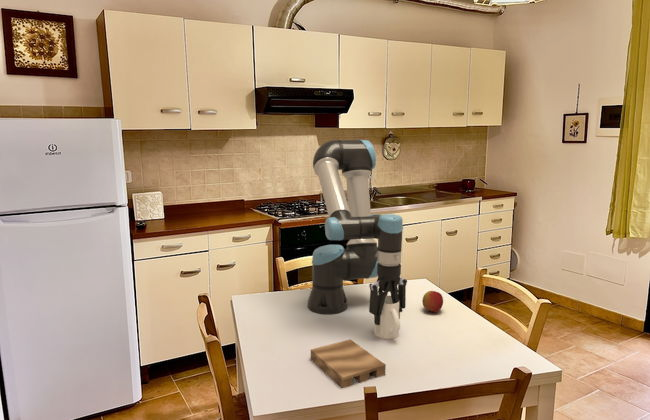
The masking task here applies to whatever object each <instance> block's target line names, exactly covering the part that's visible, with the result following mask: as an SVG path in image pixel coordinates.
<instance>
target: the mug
mask: <svg viewBox="0 0 650 420" xmlns="http://www.w3.org/2000/svg"><path fill="white" fill-rule="evenodd" d="M399 301H400V300H399ZM381 315H383V332H382V335H379V334H378V333H376V324H375V323H374V335H375V337H377V338H379V339H384V340H392V339H395V338H396V339H397V337H399V332H400V329H401V328H400V327H401V321H400V320H401V319H399V302H397V303H395V304H393V302H392V298H391V295H387V296H386V298H385V301H384V305H383V309H382V313H381Z"/></svg>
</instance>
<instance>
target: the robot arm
mask: <svg viewBox="0 0 650 420" xmlns="http://www.w3.org/2000/svg"><path fill="white" fill-rule="evenodd" d="M376 161H377V154H376V150H375V147H374V145H373V144H372V142H371V141H370V140H366V139H365V140H364V139H330V140H328V141H325V142H324V143H322V144H320V146H319V147H318V148H317V149H316V151H315V153H314V155H313V159H312V167H313V172H314V174H315V175H316V176H317V177H318V180H319V185H320V187H321V193H322V196H323V200H324V204H325V207H326V211H327V215H328V217H327V218H326V219H325V222H324V231H325V237H326V238H327V240H329V241H346V240H347V241H348V242H347V243H346V248H344V246H343V245H341V244H327V245H322V246H319V247H317V248H315V249H314V250H313V252H312V259H311V260H312V261H311V265H312V272H311V273H312V275H311V277H312V285H311V286H312V287H311V291H310V293H309V295H308V300H307V308H308V310H310V311H311V312H314V313H317V314H322V315H323V314H324V315H333V314H339V313H342V312H344V311H346V310H347V309H348V299H347V296H346V293H345V290H344V281H347V280H361V279H362V280H363V279H364V280H365V279H366V280H368V279H373V278H374V279H375V278H377V279H376V282H375V283H370V284H369V285H368V287H369V290H370V292H369V309H368V312H369V313H370V314H371V315H373V317H374V318H373V319H374V321H373V322H374V325H375V324H376V333H378V334H379V335H382V332H383V315H381V313H382V309H383V305H384V301H385V298H386V296H388V295H389V293H390V296H391V298H392V302H393V304H395V303H397V302H399V320H401V313H403V311H404V310H403V309H406V303H407V302H406V290H407V289H406V288H407V283H408V280H407V279H405V278H403V277H400V276H401V275H402V271H401V270H402V269H401V268H402V265H401V264H402V263H401V262H402V253H403V252H402V245H403V232H404V231H403V230H404V226H403V225H404V224H403V223H404V222H403V217H402V216H401V215H398V214H394V213H385V214H379V213H373V214H371V213H372V212H371V199H370V187H369V183H370V182H369V177H370V176H371V174H372V170H374V169H375V167H376V166H377V165H376V164H377V162H376ZM339 170H340V171H341V175H342V177H344V179H345V180H346V181H345V182H346V193H345V190H344V187H343V184H342V181H341V180H342V179H341V177H340V174H339ZM346 195H347V197H346ZM375 239H376V240H377V241H376V240H375ZM399 300H400V301H399Z"/></svg>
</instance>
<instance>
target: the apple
mask: <svg viewBox="0 0 650 420" xmlns="http://www.w3.org/2000/svg"><path fill="white" fill-rule="evenodd" d="M443 304H444V297H443V295H442V294H441V292H438V291H435V290H428V291H427V292H426V293H424V294H423V297H422V306H423V308H424V309H426V310H428V311H430V312H432V313H438V312H439V311H440V310H441V309H442V307H443Z"/></svg>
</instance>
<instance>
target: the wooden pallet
mask: <svg viewBox="0 0 650 420" xmlns="http://www.w3.org/2000/svg"><path fill="white" fill-rule="evenodd" d="M310 360H311V361H312V362H313V363H314V364H316V365H317V366H318V367H319V368H320V369H321V370H322V371H323V372H324V373H326V375H328V377H329V378H331V379H332V380H333V381H334V382H335V383H337V385H339V386H340V387H341V388H342V389H344V388H347V387H351V386H353V378H354V379H355V380H356V381H357V382H358V383H364V382H367V381H369V380H370V374H371V375H373V376H374V377H375V378H378V377H382V376H385V375H386V369H387V368H386V365H387V364H385V363H384V362H382V361H381V360H380V359H378V358H377V357H375V356H374V355H373V354H372V353H370V352H369V351H368V350H367V349H364V348H363V347H362V346H361V345H359V344H358V343H356V342H355V341H354V340H352V339H347V340H342V341H338V342H336V343H330V344H327V345H323V346H322V345H321V346H320V347H315V348H311V349H310Z"/></svg>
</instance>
